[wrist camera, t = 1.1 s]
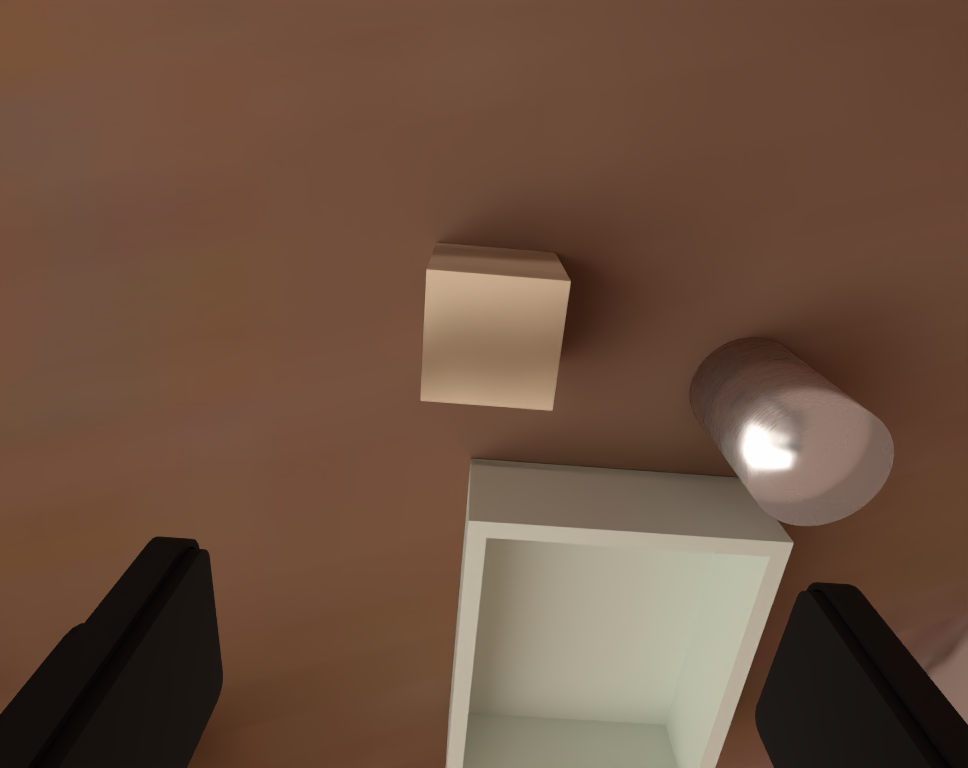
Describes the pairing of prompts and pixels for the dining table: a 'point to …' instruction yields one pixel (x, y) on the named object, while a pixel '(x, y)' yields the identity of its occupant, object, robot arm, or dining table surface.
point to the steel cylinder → (790, 433)
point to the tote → (606, 615)
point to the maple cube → (493, 326)
